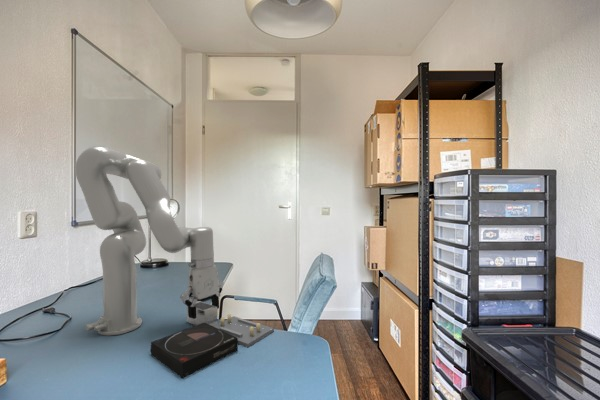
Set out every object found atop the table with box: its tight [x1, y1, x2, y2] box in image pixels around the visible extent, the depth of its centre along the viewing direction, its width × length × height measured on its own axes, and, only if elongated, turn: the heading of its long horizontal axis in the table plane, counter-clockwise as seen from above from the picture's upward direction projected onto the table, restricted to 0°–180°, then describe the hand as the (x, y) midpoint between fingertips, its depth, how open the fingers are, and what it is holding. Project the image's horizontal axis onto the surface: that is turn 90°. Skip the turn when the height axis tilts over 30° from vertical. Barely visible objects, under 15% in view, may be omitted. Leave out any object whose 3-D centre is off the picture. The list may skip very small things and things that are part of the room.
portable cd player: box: [149, 322, 239, 379], centre depth 81 cm, size 16×17×4 cm
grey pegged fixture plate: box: [213, 313, 275, 348], centre depth 93 cm, size 12×18×4 cm, turn 57°
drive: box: [186, 300, 218, 326], centre depth 100 cm, size 5×10×6 cm, turn 54°
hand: (204, 312), depth 100 cm, fingers open, 9 cm apart
